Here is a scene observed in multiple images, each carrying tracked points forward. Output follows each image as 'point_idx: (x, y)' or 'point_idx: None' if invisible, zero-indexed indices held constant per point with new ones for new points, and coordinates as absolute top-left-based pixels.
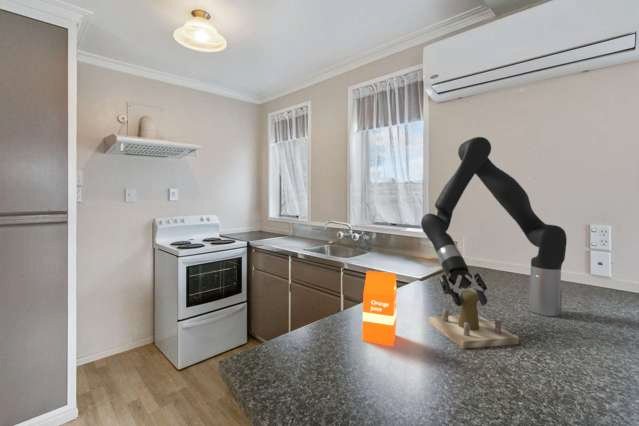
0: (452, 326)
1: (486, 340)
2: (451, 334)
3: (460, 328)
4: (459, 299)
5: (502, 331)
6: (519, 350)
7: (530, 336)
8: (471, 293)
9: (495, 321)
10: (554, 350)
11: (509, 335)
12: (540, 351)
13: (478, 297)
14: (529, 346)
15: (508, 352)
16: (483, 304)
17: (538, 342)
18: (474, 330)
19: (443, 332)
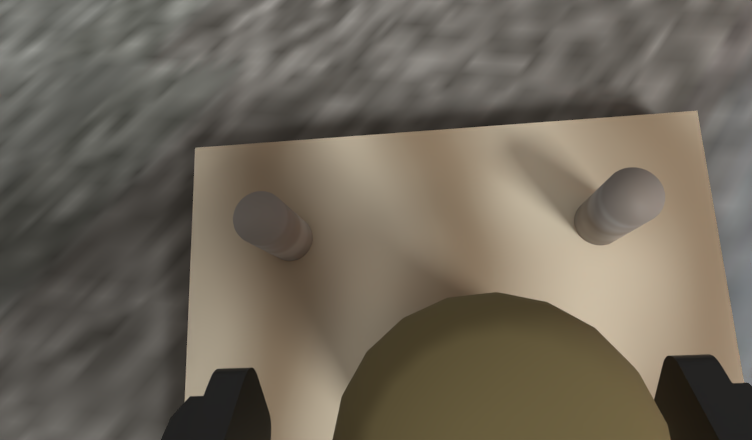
0: None
1: (479, 129)
2: (717, 272)
3: None
4: (743, 406)
5: (236, 254)
6: (283, 84)
7: (28, 265)
8: (523, 382)
9: (285, 227)
10: (66, 71)
11: (239, 181)
12: (162, 65)
13: (382, 340)
14: (171, 128)
15: (377, 65)
16: (264, 402)
17: (61, 175)
18: None
19: None
